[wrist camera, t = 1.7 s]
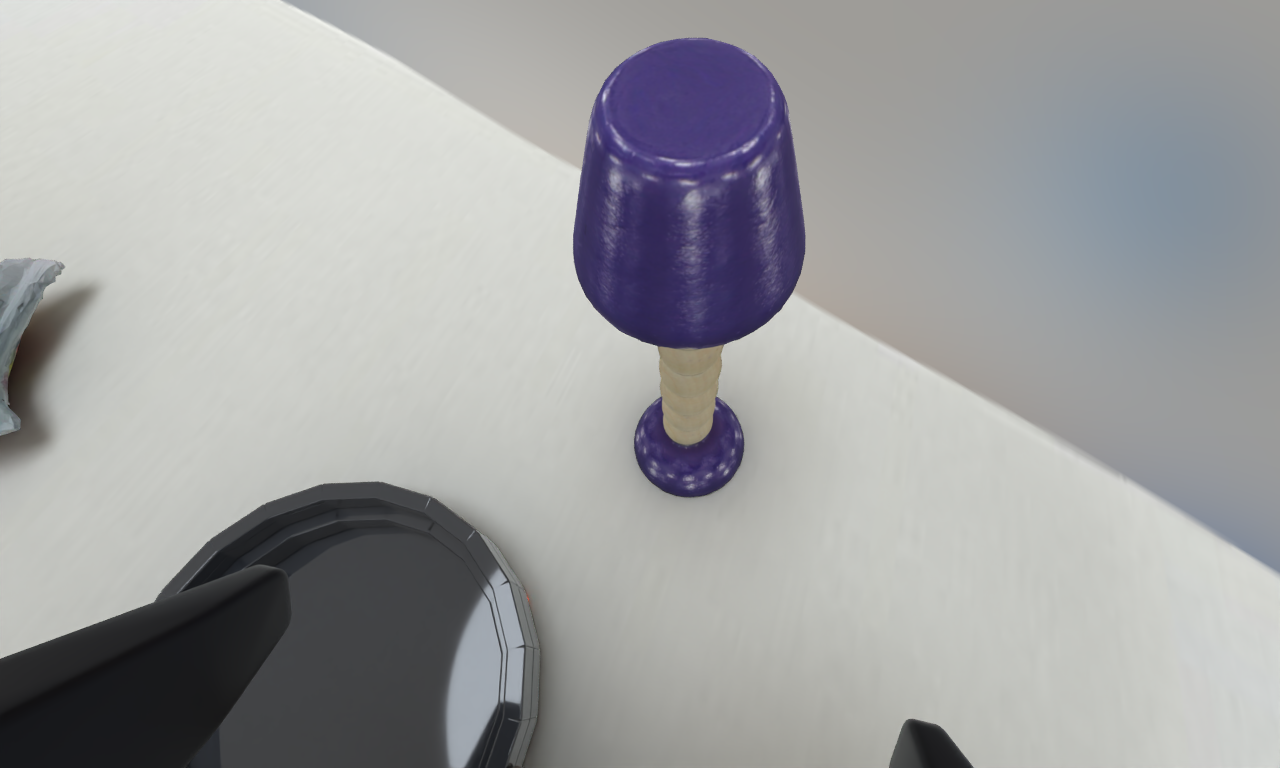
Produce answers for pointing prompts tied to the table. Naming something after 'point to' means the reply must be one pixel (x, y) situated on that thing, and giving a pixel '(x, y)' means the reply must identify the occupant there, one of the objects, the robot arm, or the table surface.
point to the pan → (378, 637)
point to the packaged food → (18, 317)
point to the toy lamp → (689, 235)
